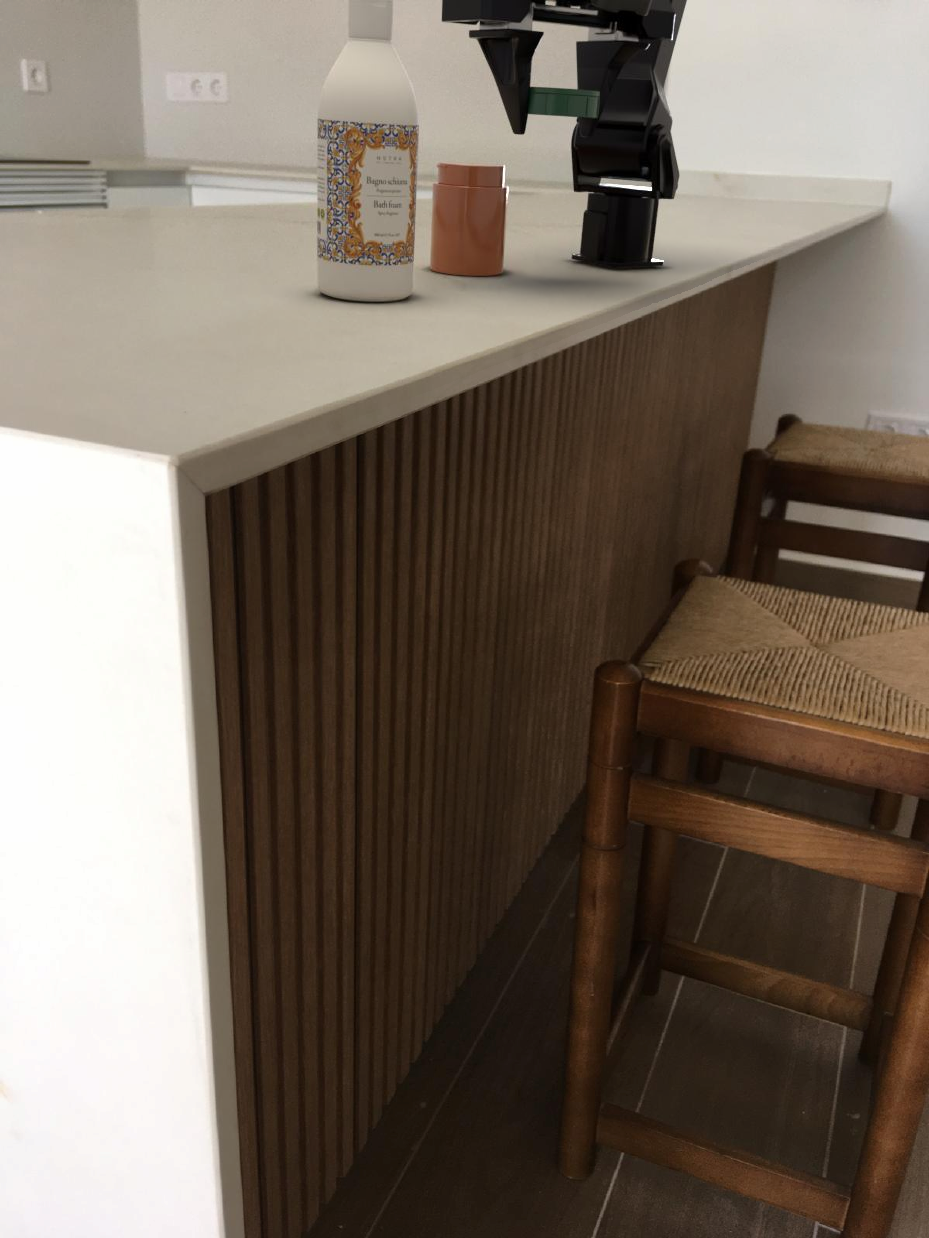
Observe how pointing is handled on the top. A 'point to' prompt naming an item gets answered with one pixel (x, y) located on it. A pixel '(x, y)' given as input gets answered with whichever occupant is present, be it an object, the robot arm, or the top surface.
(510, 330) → the top surface
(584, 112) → the lid
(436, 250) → the jar
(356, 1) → the bath foam
